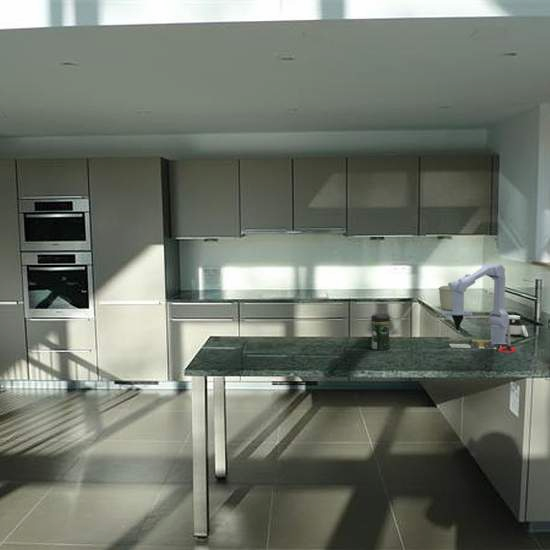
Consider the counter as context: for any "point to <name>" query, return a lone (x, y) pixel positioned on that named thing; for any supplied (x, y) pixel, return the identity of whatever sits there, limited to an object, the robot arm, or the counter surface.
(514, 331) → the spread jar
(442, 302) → the canister
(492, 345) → the chain end
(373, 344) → the coffee jar
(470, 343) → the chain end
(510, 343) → the tow hook
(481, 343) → the link
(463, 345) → the mat
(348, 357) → the counter surface
